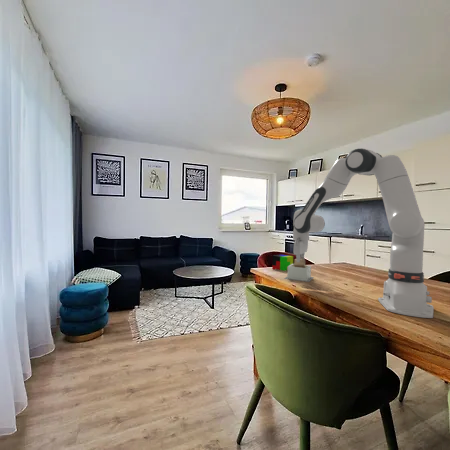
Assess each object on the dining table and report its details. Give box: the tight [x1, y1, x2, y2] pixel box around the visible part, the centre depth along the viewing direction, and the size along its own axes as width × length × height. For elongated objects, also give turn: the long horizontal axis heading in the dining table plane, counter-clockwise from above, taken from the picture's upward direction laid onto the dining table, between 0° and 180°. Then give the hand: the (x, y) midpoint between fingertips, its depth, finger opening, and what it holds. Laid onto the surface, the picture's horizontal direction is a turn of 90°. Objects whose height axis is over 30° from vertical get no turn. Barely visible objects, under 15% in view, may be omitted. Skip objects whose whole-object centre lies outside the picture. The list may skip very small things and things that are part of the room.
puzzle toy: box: [271, 254, 294, 272], centre depth 175 cm, size 10×10×10 cm
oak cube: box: [293, 258, 306, 268], centre depth 146 cm, size 5×5×5 cm
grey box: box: [286, 263, 312, 282], centre depth 146 cm, size 11×11×7 cm
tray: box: [283, 276, 314, 283], centre depth 146 cm, size 14×14×1 cm
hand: (300, 261), depth 146 cm, fingers open, 8 cm apart
